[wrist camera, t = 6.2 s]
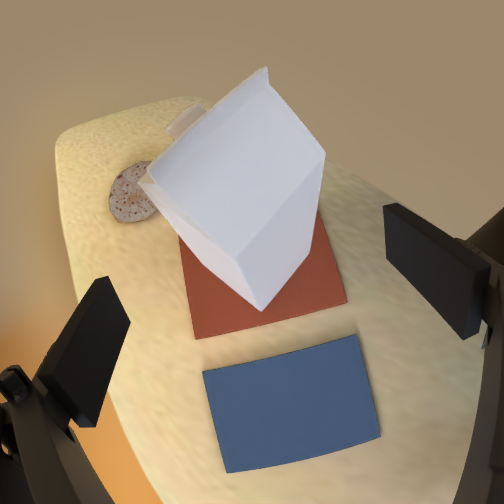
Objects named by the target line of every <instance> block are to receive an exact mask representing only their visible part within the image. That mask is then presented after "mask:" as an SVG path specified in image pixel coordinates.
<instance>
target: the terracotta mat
mask: <svg viewBox="0 0 504 504" xmlns="http://www.w3.org/2000/svg"><path fill="white" fill-rule="evenodd" d="M178 237H179V244H180V251H181V258H182V264H183V271H184V277H185V283H186V289H187V295H188V301H189V307H190V312H191V318H192V323H193V329H194V334H195V339H202V338H207V337H211V336H216V335H221V334H225V333H230V332H234V331H239V330H243V329H248V328H252V327H256V326H260V325H265V324H269V323H273V322H277V321H281V320H285V319H289V318H293V317H296V316H300V315H304V314H308V313H312V312H315V311H319V310H323V309H326V308H330V307H333V306H337V305H341V304H344V303H347V298H346V295H345V292H344V288H343V285H342V282H341V278H340V275H339V272H338V269H337V265H336V262H335V259H334V256H333V253H332V250H331V247H330V244H329V241H328V238H327V235H326V232H325V229H324V226H323V223H322V220H321V217H320V214H319V211H318V208H317V213H316V219H315V225H314V231H313V236H312V242H311V248H310V252H309V254H308V256H307V257H306V258H305V259H304V261H303V262H302V263H301V264H300V266H299V267H298V268H297V269H296V271H295V272H294V273H293V274H292V276H291V277H290V278H289V279H288V281H287V282H286V283H285V284H284V286H283V287H282V288H281V289H280V291H279V292H278V293H277V294H276V295H275V297H274V298H273V299H272V300H271V302H270V303H269V304H268V305H267V306H266V308H265V309H264V310H263V311H259V310H258V309H257V308H255V307H254V306H253V305H252V304H250V303H249V302H248V301H247V300H245V299H244V298H243V297H242V296H240V295H239V294H238V293H237V292H236V291H234V290H233V289H232V288H231V287H229V286H228V285H227V284H226V283H225V282H223V281H222V280H221V279H220V278H218V277H217V276H216V275H215V274H214V273H212V272H211V271H210V270H209V269H208V268H206V267H205V266H204V265H203V264H202V263H201V262H200V260H199V259H198V258H197V257H196V256H195V254H194V253H193V252H192V251H191V249H190V248H189V247H188V246H187V245H186V243H185V242H184V241H183V240H182V238H181V237H180V236H179V235H178Z"/></svg>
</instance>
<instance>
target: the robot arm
mask: <svg viewBox="0 0 504 504" xmlns="http://www.w3.org/2000/svg"><path fill="white" fill-rule="evenodd" d="M383 214H384V227H385V243H386V259H387V260H388V261H389V262H390V263H391V264H392V265H393V266H394V267H395V268H396V269H397V270H398V271H399V272H400V273H401V274H402V275H403V276H404V277H405V278H406V279H407V280H408V281H409V282H410V283H411V284H412V285H413V286H414V287H415V288H416V289H417V290H418V291H419V292H420V294H421V295H422V296H423V297H424V298H425V299H426V300H427V301H428V302H429V303H430V304H431V305H432V306H433V307H434V309H435V310H436V311H437V312H438V313H439V314H440V315H441V316H442V317H443V318H444V320H445V321H446V322H447V323H448V324H449V325H450V326H451V327H452V329H453V330H454V331H455V332H456V333H457V334H458V335H459V337H460V338H461V339H462V340H465V339H467V338H469V337H471V336H473V335H475V334H477V333H479V329H480V325H481V320H483V321H484V322H485V323H486V324H487V325H488V327H487V330H486V334H485V338H484V341H483V345H482V348H481V349H484V348H485V353H484V365H483V374H482V383H481V390H480V397H479V403H478V409H477V415H476V420H475V425H474V430H473V435H472V439H471V444H470V448H469V452H468V456H467V459H466V463H465V467H464V470H463V474H462V477H461V480H460V483H459V487H458V490H457V493H456V495H455V498H454V501H453V504H504V265H503V266H502V265H501V264H499V263H498V262H496V261H495V260H494V259H492V258H491V257H489V256H488V255H487V254H485V253H484V252H483V253H482V251H481V250H479V249H478V248H475V246H473V245H472V244H470V243H469V242H467V241H465V240H462V239H459V238H453V237H451V236H450V235H448V234H447V233H445V232H444V231H442V230H440V229H439V228H437V227H436V226H434V225H433V224H431V223H429V222H428V221H426V220H425V219H423V218H422V217H420V216H418V215H417V214H415V213H413V212H412V211H410V210H408V209H407V208H405V207H403V206H402V205H400V204H398V203H393V204H388V205H384V206H383ZM130 323H131V322H130V320H129V318H128V316H127V314H126V312H125V310H124V308H123V306H122V304H121V302H120V300H119V298H118V296H117V294H116V292H115V289H114V287H113V285H112V283H111V281H110V279H109V277H108V276H106V277H102V278H98V279H95V280H94V282H93V283H92V285H91V286H90V288H89V289H88V291H87V292H86V294H85V295H84V297H83V298H82V300H81V302H80V303H79V305H78V306H77V308H76V309H75V311H74V313H73V314H72V316H71V318H70V319H69V321H68V322H67V324H66V325H65V327H64V329H63V330H62V332H61V334H60V335H59V337H58V339H57V340H56V342H54V343H53V345H51V347H50V349H49V351H48V352H47V355H46V356H45V358H44V359H43V362H42V363H41V365H40V367H39V368H38V370H37V372H36V374H35V376H34V378H33V379H32V381H31V380H30V379H29V378H28V376H27V375H26V374H25V373H24V371H23V370H22V368H21V367H20V366H19V365H12V366H10V367H8V368H6V369H5V370H4V371H2V372H1V374H0V392H1V393H2V395H3V396H4V397H5V398H6V399H7V401H8V402H5V403H2V404H1V403H0V504H115V503H114V501H113V500H112V498H111V497H110V495H109V494H108V492H107V490H106V489H105V487H104V485H103V484H102V482H101V481H100V479H99V477H98V476H97V474H96V472H95V470H94V469H93V467H92V465H91V463H90V461H89V460H88V458H87V456H86V454H85V452H84V450H83V448H82V447H81V445H80V443H79V441H78V439H77V437H76V435H75V433H74V431H73V430H72V428H71V427H70V426H69V425H68V424H69V422H70V419H71V418H72V419H73V421H74V422H75V423H76V424H77V425H78V426H79V427H83V428H84V427H96V424H97V421H98V417H99V414H100V411H101V408H102V405H103V401H104V398H105V395H106V392H107V389H108V386H109V383H110V380H111V377H112V374H113V371H114V368H115V365H116V362H117V359H118V356H119V353H120V350H121V348H122V345H123V342H124V339H125V337H126V334H127V331H128V328H129V326H130ZM1 443H2V444H3V445H4V446H5V447H6V448H7V449H8V455H7V454H6V453H5V452H4V451H3V449H2V445H1Z"/></svg>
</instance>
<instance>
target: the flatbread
mask: <svg viewBox="0 0 504 504" xmlns="http://www.w3.org/2000/svg"><path fill="white" fill-rule="evenodd" d="M151 162H152V161H140V162H138V163H135V164H133V165H132V166H130V167H128V168H127V169H125V170H123V171H122V172H121V173H120V174H119V175H118V177H117V178H116V179H115V181H114V183H113V186H112V189H111V192H110V196H109V209H110V211H111V213H112V214H113V216H114V218H115V220H116V221H117V222H119V223H123V222H136V221H141V220H144V219H146V218H148V217H149V216H150V215H151V214H153V213H154V212H155V211H156V210H157V207H156V206H155V205H154V203H153V202H152V201H151V200H150V198H149V197H148V196H147V195H146V193H145V192H144V191H143V189H142V188H141V187H140V186H139V184H138V183H137V182H138V181H139V180H140V178H141V177H142V176H143V175H144V174H145V173H146V172H147V170H146V169H147V166H148V165H149V164H150V163H151Z"/></svg>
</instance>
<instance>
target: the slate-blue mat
mask: <svg viewBox="0 0 504 504" xmlns="http://www.w3.org/2000/svg"><path fill="white" fill-rule="evenodd" d="M202 373H203V378H204V383H205V387H206V392H207V396H208V401H209V405H210V409H211V413H212V418H213V422H214V426H215V430H216V434H217V438H218V442H219V446H220V450H221V453H222V457H223V461H224V464H225V468H226V472H227V473H234V472H241V471H248V470H255V469H261V468H266V467H272V466H277V465H282V464H287V463H292V462H296V461H301V460H305V459H309V458H313V457H317V456H321V455H325V454H328V453H332V452H335V451H339V450H342V449H346V448H349V447H352V446H355V445H358V444H362V443H365V442H368V441H370V440H373V439H376V438H379V437H381V435H380V430H379V425H378V421H377V416H376V411H375V407H374V402H373V398H372V393H371V389H370V385H369V381H368V377H367V372H366V368H365V364H364V360H363V357H362V353H361V349H360V345H359V341H358V337H357V334H355V335H352V336H348V337H345V338H342V339H338V340H335V341H331V342H328V343H324V344H321V345H317V346H313V347H310V348H306V349H302V350H298V351H294V352H290V353H286V354H282V355H278V356H274V357H270V358H266V359H261V360H257V361H252V362H248V363H243V364H238V365H234V366H229V367H224V368H218V369H213V370H208V371H203V372H202Z"/></svg>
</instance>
